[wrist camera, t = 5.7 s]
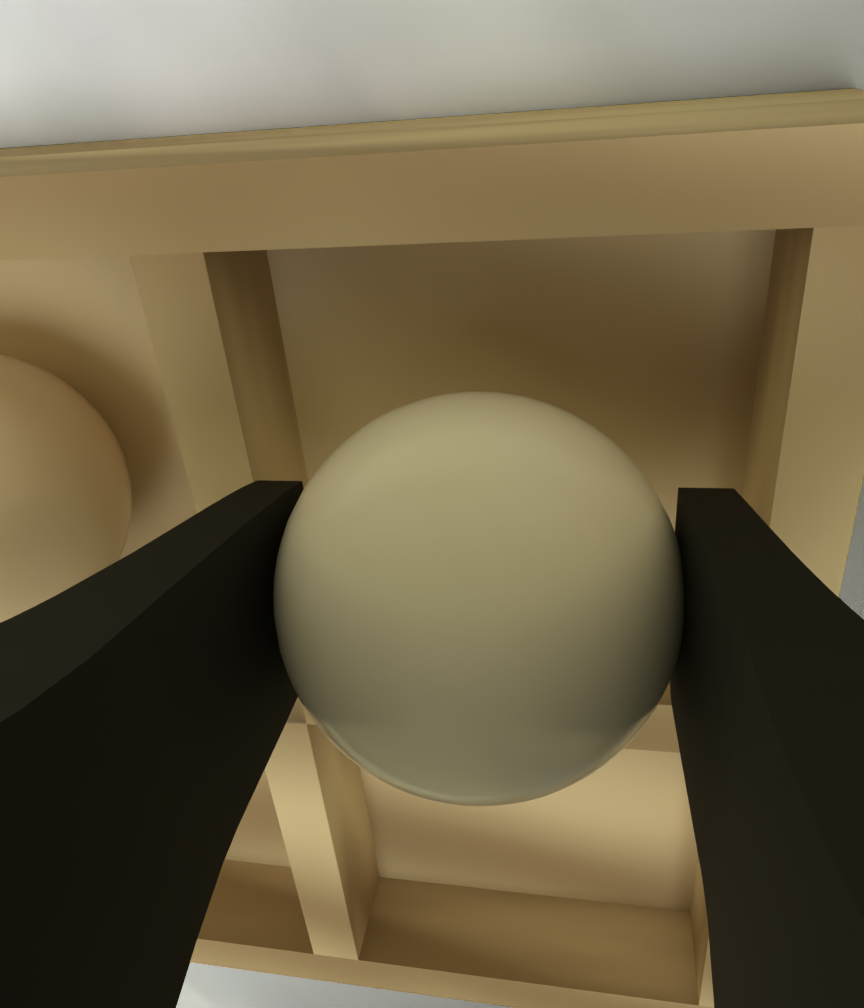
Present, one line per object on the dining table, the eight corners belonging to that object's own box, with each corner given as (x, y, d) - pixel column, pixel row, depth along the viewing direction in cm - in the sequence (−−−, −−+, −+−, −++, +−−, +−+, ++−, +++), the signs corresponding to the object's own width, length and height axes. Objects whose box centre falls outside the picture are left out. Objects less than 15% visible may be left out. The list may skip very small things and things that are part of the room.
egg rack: (727, 895, 19) (746, 1039, 17) (76, 824, 23) (4, 936, 20) (855, 88, 11) (938, 118, 8) (-224, 164, 14) (-419, 204, 11)
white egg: (667, 629, 12) (690, 926, 8) (364, 617, 13) (259, 876, 9) (682, 325, 10) (722, 538, 6) (313, 338, 11) (145, 529, 7)
